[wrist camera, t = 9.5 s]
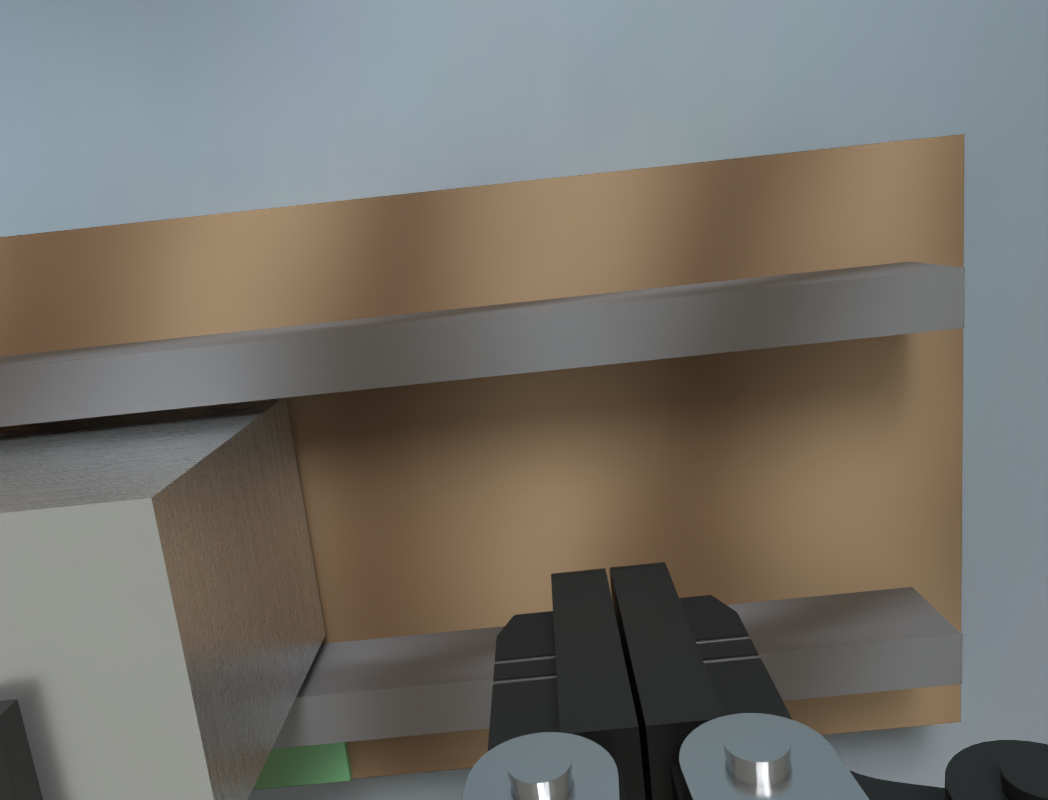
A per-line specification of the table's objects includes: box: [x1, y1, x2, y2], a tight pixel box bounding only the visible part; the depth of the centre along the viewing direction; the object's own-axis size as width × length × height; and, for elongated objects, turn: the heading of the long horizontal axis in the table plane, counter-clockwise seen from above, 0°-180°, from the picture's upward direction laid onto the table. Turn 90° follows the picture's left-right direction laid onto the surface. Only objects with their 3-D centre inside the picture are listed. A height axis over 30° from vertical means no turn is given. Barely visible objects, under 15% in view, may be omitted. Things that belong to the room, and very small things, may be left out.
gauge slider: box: [0, 398, 326, 800], centre depth 14 cm, size 5×7×6 cm
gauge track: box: [0, 134, 964, 790], centre depth 15 cm, size 22×12×8 cm, turn 96°
